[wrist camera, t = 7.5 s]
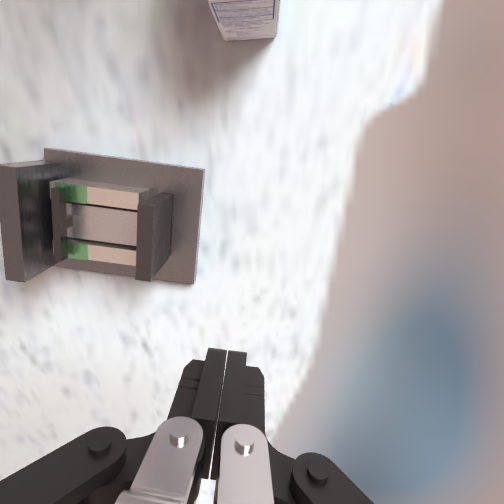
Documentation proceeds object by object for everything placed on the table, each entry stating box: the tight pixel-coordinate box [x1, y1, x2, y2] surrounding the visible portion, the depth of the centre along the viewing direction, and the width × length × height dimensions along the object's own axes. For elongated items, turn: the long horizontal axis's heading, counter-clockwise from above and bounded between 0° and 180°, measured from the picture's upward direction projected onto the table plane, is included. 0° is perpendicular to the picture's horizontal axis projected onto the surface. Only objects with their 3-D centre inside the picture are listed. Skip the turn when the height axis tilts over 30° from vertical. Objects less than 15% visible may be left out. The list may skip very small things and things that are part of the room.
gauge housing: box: [0, 148, 205, 284], centre depth 30 cm, size 11×14×7 cm
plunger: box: [51, 187, 173, 281], centre depth 29 cm, size 6×9×6 cm, turn 82°
